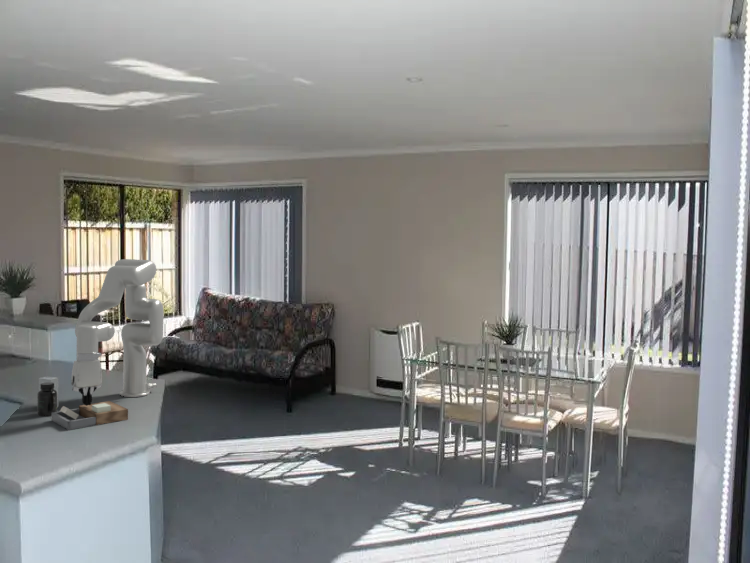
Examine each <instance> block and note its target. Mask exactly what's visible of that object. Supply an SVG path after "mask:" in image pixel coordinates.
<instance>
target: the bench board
mask: <svg viewBox="0 0 750 563" xmlns="http://www.w3.org/2000/svg"><path fill="white" fill-rule="evenodd" d="M102 403H106V404H108V405H110V406H111V411H107V412H101V413H96V412H94V411H92V405H96V404H102ZM78 408H79V415H80V416H82V417H84V418H89V417H96V425H95V426H99V425H98V424H100V425H105V424H109V423H117V422H121V421H122V422H123V421H127V420H129V408H126V407H124V406H122V405H120V404H118V403H115V402H112V401H111V400H107V401H101V402H94V403H91V405H87V406H86V405H84V404H82V405H81V404H80V405H79V406H78ZM104 423H105V424H104Z"/></svg>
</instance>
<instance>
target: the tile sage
mask: <svg viewBox="0 0 750 563" xmlns="http://www.w3.org/2000/svg"><path fill="white" fill-rule="evenodd" d="M92 411H94V412H96V413H101V412H107V411H111V406H110V405H108V404H106V403H102V404H96V405H92Z"/></svg>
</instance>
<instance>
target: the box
mask: <svg viewBox="0 0 750 563" xmlns="http://www.w3.org/2000/svg"><path fill="white" fill-rule="evenodd" d="M70 410H71V411H73V412H75V413H76V414H78V415H79V407H78V408H73V409H70ZM51 421H52V422H53V423H56V424H57V425H59V426H60V425H61V426H60V427H62V428H64V429H65V428H66V430H67V431H71V430H76V429H83V428H88V427H87V426H89V427H93V425H94V426H97V425H96V417H89V418H84V417H82V416H80V415H79V416H78V417H77V418H76V420H75V419H73V418H72V417H70V416H68V415H67V414H65V413H63V412H61V411H60V410H59V411H57V412H52V416H51ZM82 427H83V428H82Z"/></svg>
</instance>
